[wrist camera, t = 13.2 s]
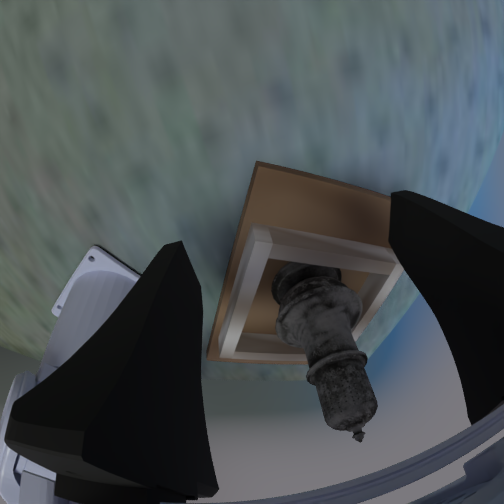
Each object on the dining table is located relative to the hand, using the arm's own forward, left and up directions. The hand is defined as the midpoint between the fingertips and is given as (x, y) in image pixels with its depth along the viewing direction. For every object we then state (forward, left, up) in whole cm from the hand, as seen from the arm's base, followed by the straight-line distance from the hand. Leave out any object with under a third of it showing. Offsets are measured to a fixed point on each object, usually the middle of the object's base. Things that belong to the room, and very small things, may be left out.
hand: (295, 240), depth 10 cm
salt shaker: (-3, -9, -8) cm, 12 cm away
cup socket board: (-4, -10, -8) cm, 14 cm away
